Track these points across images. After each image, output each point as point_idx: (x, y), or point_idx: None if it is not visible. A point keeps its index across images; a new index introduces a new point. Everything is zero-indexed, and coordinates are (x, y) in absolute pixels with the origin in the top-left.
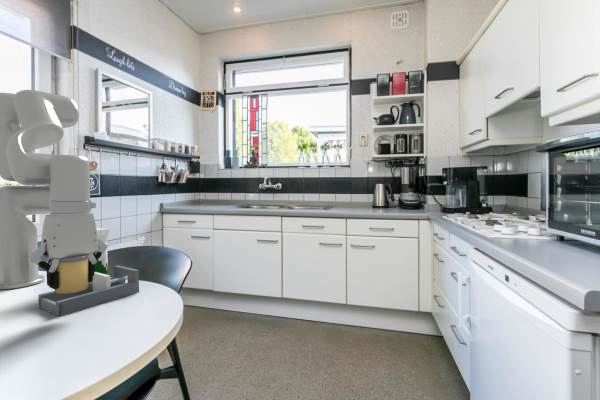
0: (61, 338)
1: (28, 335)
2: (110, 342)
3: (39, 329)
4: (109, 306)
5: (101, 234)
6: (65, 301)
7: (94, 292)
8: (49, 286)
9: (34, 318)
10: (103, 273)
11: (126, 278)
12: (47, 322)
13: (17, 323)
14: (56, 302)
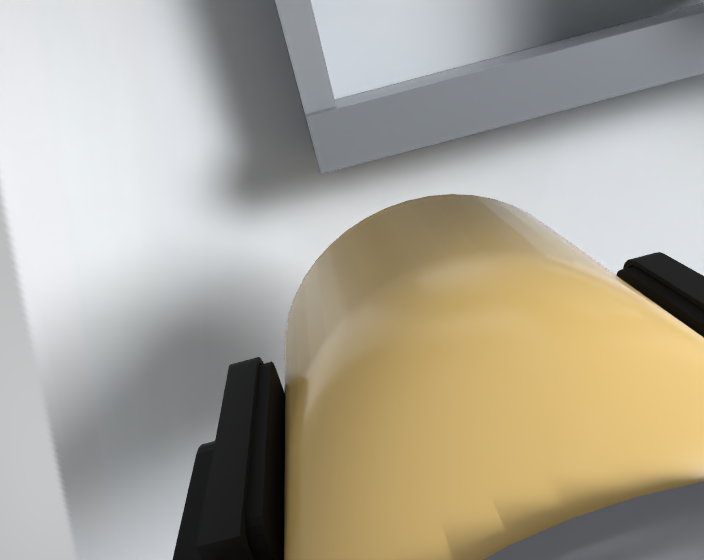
0: None
1: (147, 389)
2: None
3: (198, 336)
4: (622, 208)
5: None
6: (377, 155)
7: (638, 73)
8: (233, 368)
9: (162, 68)
10: None
11: None
12: (242, 241)
13: (56, 99)
14: (310, 133)
